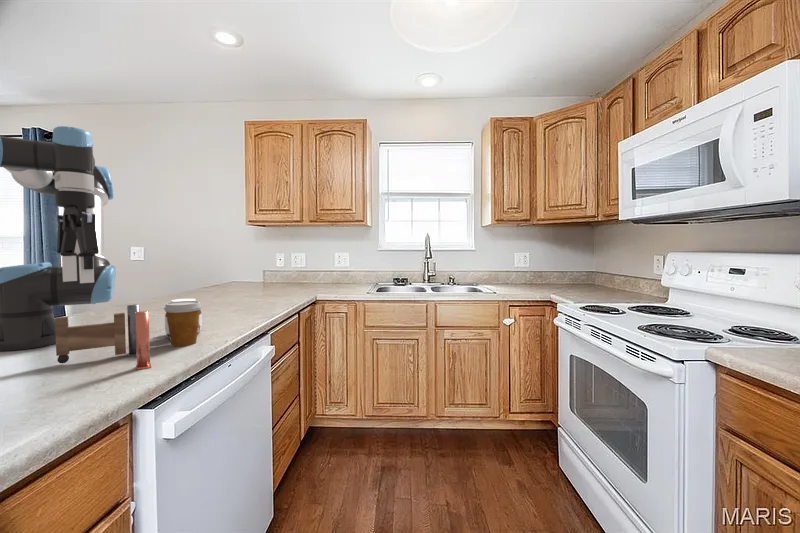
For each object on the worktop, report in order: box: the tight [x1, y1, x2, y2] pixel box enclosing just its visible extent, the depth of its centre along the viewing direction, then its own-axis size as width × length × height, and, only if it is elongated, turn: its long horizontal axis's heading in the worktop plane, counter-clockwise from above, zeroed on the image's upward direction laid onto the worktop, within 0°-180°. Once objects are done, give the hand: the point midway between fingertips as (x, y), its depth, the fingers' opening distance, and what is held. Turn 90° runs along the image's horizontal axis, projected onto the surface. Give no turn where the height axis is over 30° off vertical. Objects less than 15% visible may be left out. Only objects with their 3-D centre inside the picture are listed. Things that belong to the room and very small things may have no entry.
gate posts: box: [126, 304, 152, 371], centre depth 93 cm, size 17×4×13 cm, turn 38°
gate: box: [54, 312, 127, 364], centre depth 93 cm, size 2×13×11 cm, turn 128°
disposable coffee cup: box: [163, 300, 202, 347], centre depth 110 cm, size 10×10×12 cm
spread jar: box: [164, 298, 203, 338], centre depth 120 cm, size 12×11×12 cm
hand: (78, 281), depth 96 cm, fingers open, 8 cm apart
